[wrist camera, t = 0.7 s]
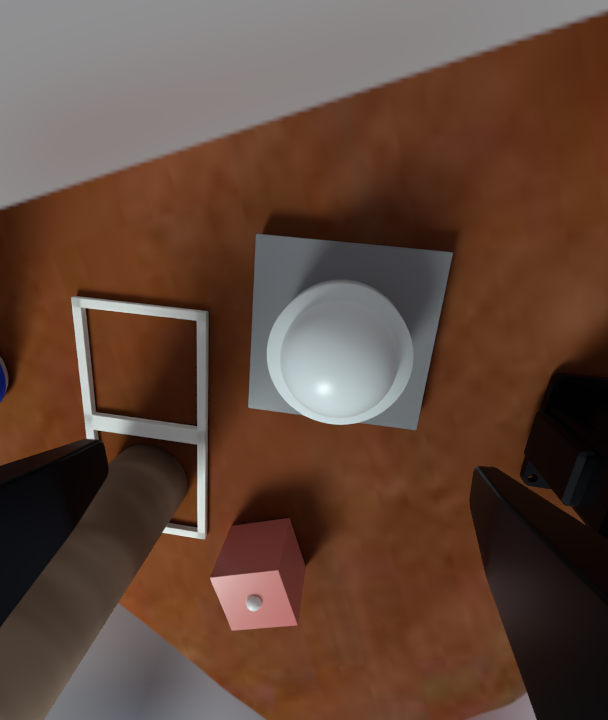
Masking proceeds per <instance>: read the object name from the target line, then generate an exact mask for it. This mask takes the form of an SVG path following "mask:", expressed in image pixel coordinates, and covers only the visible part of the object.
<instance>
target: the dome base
mask: <svg viewBox="0 0 608 720" xmlns="http://www.w3.org/2000/svg"><path fill="white" fill-rule="evenodd" d="M452 255H453V253H452V252H447V251H436V250H426V249H415V248H405V247H394V246H384V245H373V244H363V243H352V242H342V241H331V240H320V239H310V238H299V237H289V236H278V235H268V234H256V246H255V268H254V291H253V313H252V336H251V358H250V381H249V403H248V408H254V409H262V410H269V411H277V412H284V413H292V414H299V415H303V414H301V413H299V412H298V411H296V410H295V409H294V408H293V407H291V406H290V405H289V404H288V403H287V402H286V401H285V400H284V399H283V398H282V396H281V395H280V394H279V392H278V391H277V389H276V387H275V386H274V384H273V381H272V379H271V377H270V373H269V369H268V364H267V345H268V339H269V336H270V332H271V330H272V328H273V325H274V323H275V322H276V320H277V318H278V317H279V315H280V314H281V313H282V311H283V310H284V309H285V308H286V307H287V306H288V304H289V303H290V302H291V301H292V300H293V299H294V298H295V297H296V296H297V295H298V294H300V293H301V292H303V291H304V290H305V289H307V288H309V287H311V286H313V285H316V284H318V283H321V282H325V281H329V280H338V279H340V280H352V281H357V282H361V283H364V284H367V285H369V286H371V287H373V288H375V289H376V290H378V291H379V292H381V293H382V294H383V295H385V296H386V297H387V298H388V299H389V300H390V301H391V302H392V304H393V305H394V306H395V308H396V309H397V311H398V312H399V314H400V315H401V317H402V319H403V320H404V322H405V324H406V326H407V328H408V330H409V333H410V336H411V340H412V345H413V367H412V371H411V375H410V378H409V380H408V383H407V385H406V387H405V389H404V390H403V392H402V394H401V395H400V396H399V397H398V399H397V400H396V401H395V402H394V403H393V404H392V405H391V406H390V407H389V408H387V409H386V410H385V411H383V412H382V413H380V414H379V415H377V416H375V417H373V418H370V419H368V420H366V421H362V422H358V423H366V424H373V425H381V426H388V427H396V428H403V429H411V430H416V429H417V424H418V419H419V414H420V409H421V405H422V400H423V395H424V390H425V385H426V380H427V376H428V371H429V366H430V361H431V356H432V351H433V347H434V342H435V337H436V332H437V327H438V323H439V318H440V313H441V308H442V303H443V298H444V294H445V289H446V284H447V279H448V274H449V269H450V265H451V260H452Z"/></svg>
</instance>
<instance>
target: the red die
mask: <svg viewBox="0 0 608 720" xmlns="http://www.w3.org/2000/svg"><path fill="white" fill-rule="evenodd" d="M305 568H306V566H305V563H304V560H303V557H302V554H301V551H300V548H299V545H298V542H297V539H296V536H295V533H294V530H293V527H292V524H291V521H290V518H285V519H277V520H270V521H263V522H255V523H248V524H241V525H233V526H231V528H230V530H229V533H228V535H227V538H226V540H225V543H224V545H223V547H222V550H221V552H220V555H219V557H218V560H217V562H216V564H215V567H214V569H213V572H212V574H211V577H210V579H211V581H212V584H213V586H214V589H215V591H216V593H217V596H218V598H219V600H220V603H221V605H222V608H223V610H224V612H225V615H226V617H227V619H228V622H229V624H230V627H231V629H232V630H244V629H256V628H269V627H281V626H294V625H298V618H299V611H300V604H301V597H302V590H303V582H304V575H305Z"/></svg>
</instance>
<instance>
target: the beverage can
mask: <svg viewBox="0 0 608 720" xmlns="http://www.w3.org/2000/svg"><path fill="white" fill-rule="evenodd" d="M7 387H8V372H7V368H6V365H5V363H4V361H3V359H2V358H1V356H0V402H1V401H2V399H3V398H4V395H5V393H6V390H7Z"/></svg>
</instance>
